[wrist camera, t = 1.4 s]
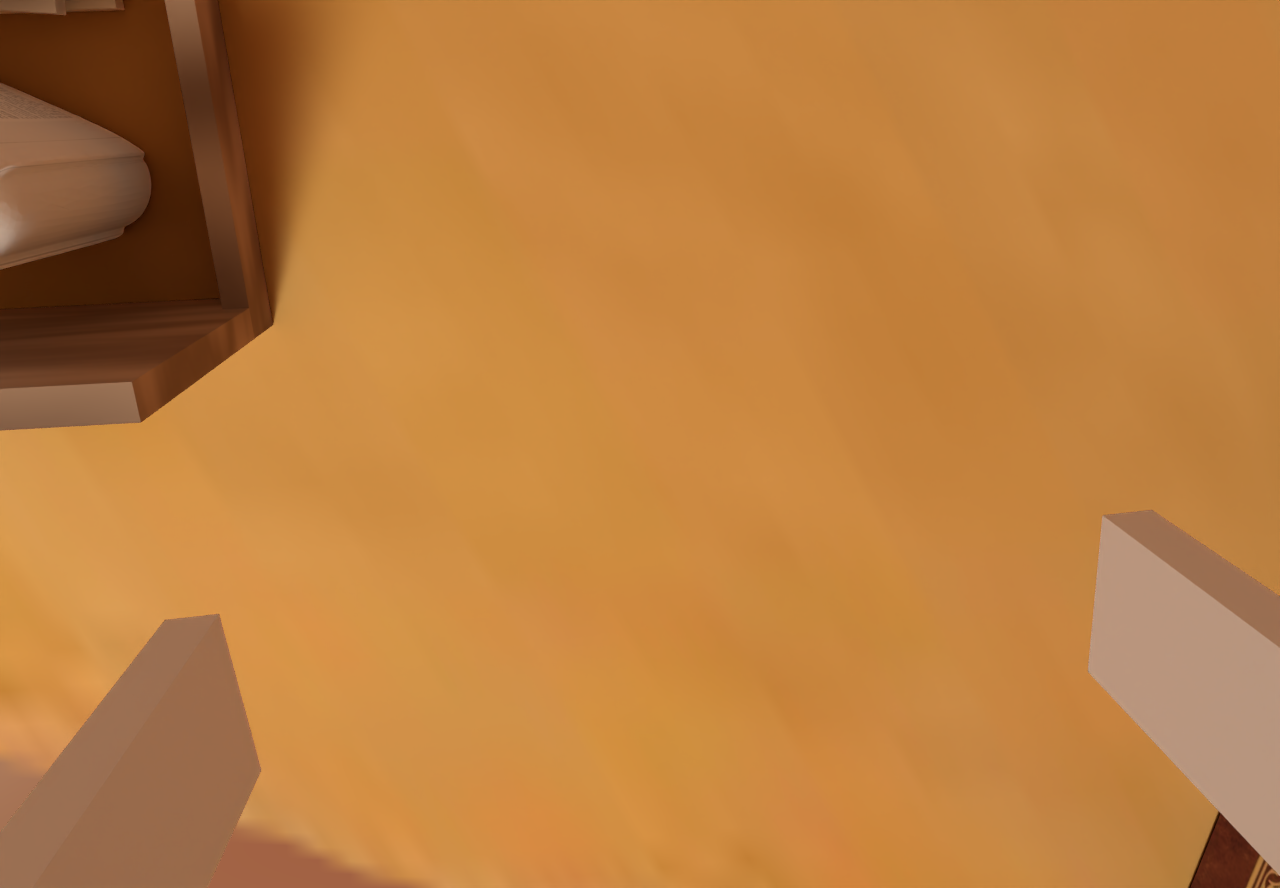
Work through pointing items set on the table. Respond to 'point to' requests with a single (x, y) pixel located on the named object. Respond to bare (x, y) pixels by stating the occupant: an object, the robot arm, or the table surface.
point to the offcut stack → (58, 6)
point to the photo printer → (62, 180)
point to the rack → (164, 330)
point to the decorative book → (1233, 862)
